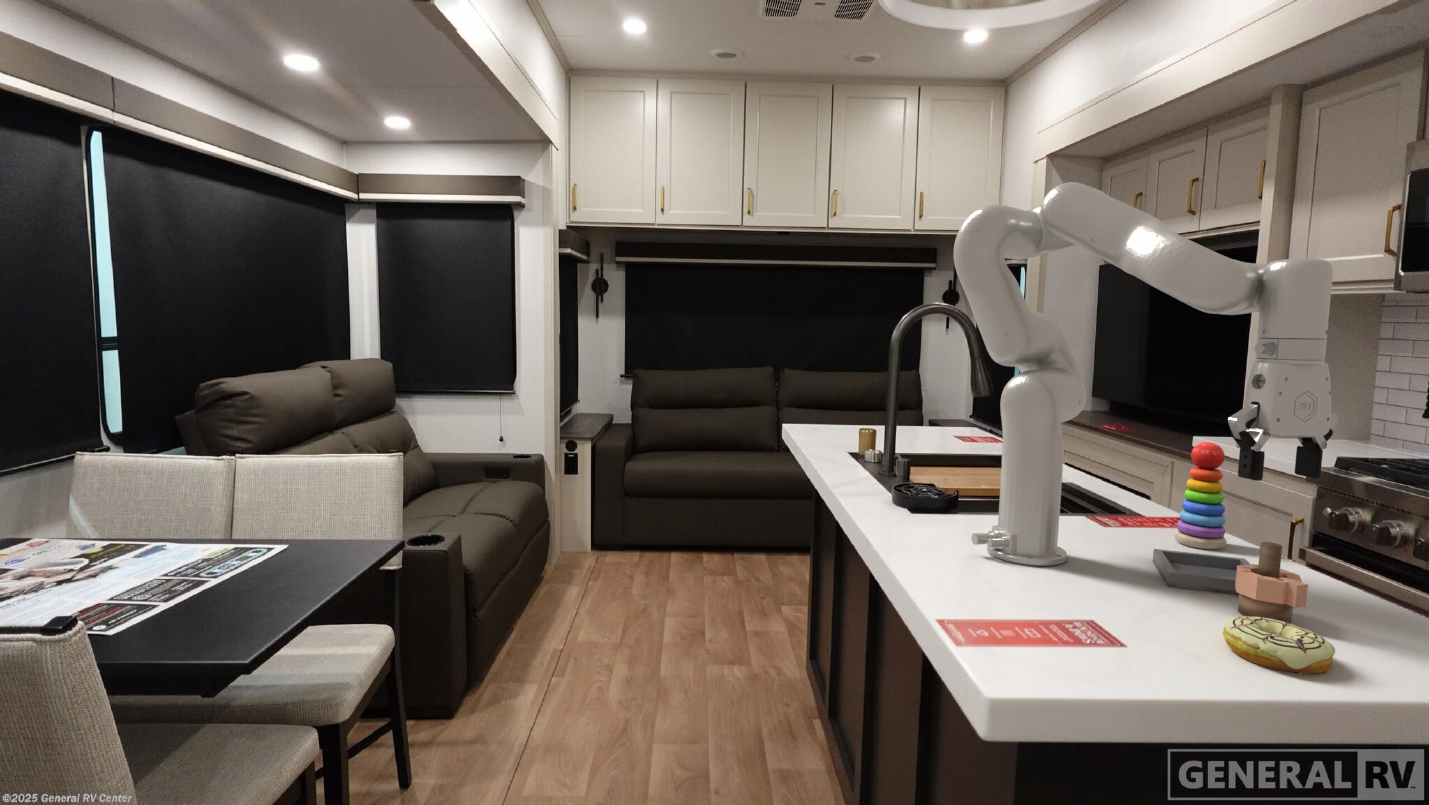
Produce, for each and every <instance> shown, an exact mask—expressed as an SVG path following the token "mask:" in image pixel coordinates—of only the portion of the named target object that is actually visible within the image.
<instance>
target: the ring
mask: <svg viewBox="0 0 1429 805" xmlns="http://www.w3.org/2000/svg"><path fill="white" fill-rule="evenodd" d="M1302 581H1303V580H1302V578H1301V576H1300V574H1298V573H1295V572H1291V571H1288V570H1286V569H1283V568H1280V574H1279V578H1273V577H1266V576H1261V575H1259V574H1258V564H1255V563H1253V564H1251V563H1250V565H1237V571H1236V582H1235V588H1236V592H1237V593H1240V594H1242V595H1245V596H1247V597H1250V598H1252V599H1255V600H1260V601H1266V602H1272V603H1278V604H1287V605H1290V606H1292V607H1293V608H1303V607H1306V606H1307V601H1308V600H1307V598H1308V592H1309V591H1308V590H1309V584H1308V583H1306V582H1302Z"/></svg>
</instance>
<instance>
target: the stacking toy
mask: <svg viewBox="0 0 1429 805" xmlns="http://www.w3.org/2000/svg"><path fill="white" fill-rule="evenodd" d="M1190 456H1191V457H1190V458H1191V460H1192V463H1193V464H1194V465H1195V467H1192V468H1191V469H1190V471H1189V475H1190V479H1188V480H1187V481H1186V487H1187V489H1186V490H1185V491H1184V497H1185V498H1186V499H1184V500H1183V502H1182V504H1181V507H1182V510H1181V512H1180V513H1179V517H1180V518H1179V519H1180V520H1178V521H1177V523H1176V528H1177V531H1176V532H1175V533H1174V539H1175V540H1176V542H1178V543H1180V544H1181V545H1184V546H1187V547H1192V548H1197V549H1202V550H1220V549H1223V548H1224V547H1226V546H1227V540H1226V538H1225V537H1224V536H1225V534H1226V529H1225V527H1224V525H1225V524H1226V521H1227V520H1226V517H1225V516H1224V513H1225V511H1226V508H1225V505H1224V504H1222V503H1223V502H1224V500H1225V496H1224V494H1223V493H1222V490H1223V489H1224V486H1223V484H1222V483H1221V480H1223V476H1224V474H1223V472H1222V471H1221V470H1219V469H1218V468H1219V467H1221V466H1222V464H1223V463H1224V461H1225V458H1226V457H1225V451H1224V449H1223V448H1222V447H1221V446H1220V445H1219V444H1217V443H1215V442H1211V441H1210V442H1209V441H1204V442H1199V443H1198V444H1196V445H1195V446H1194V447H1193V448H1192V450H1191V454H1190Z"/></svg>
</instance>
